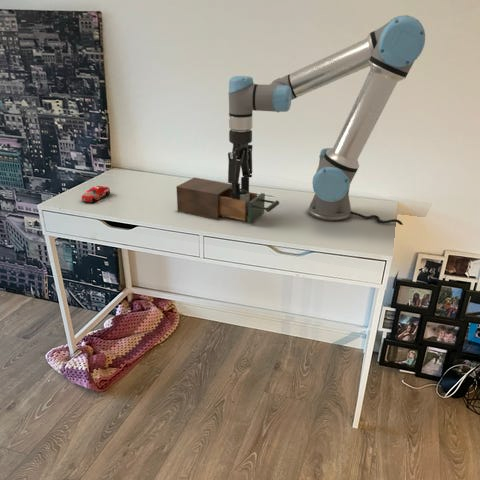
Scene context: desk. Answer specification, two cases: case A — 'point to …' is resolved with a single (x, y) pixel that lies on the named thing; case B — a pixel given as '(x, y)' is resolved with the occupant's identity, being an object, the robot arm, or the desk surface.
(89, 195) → the race car
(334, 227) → the desk surface
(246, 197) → the camera lens
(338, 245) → the desk surface
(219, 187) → the cabinet
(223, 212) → the drawer
